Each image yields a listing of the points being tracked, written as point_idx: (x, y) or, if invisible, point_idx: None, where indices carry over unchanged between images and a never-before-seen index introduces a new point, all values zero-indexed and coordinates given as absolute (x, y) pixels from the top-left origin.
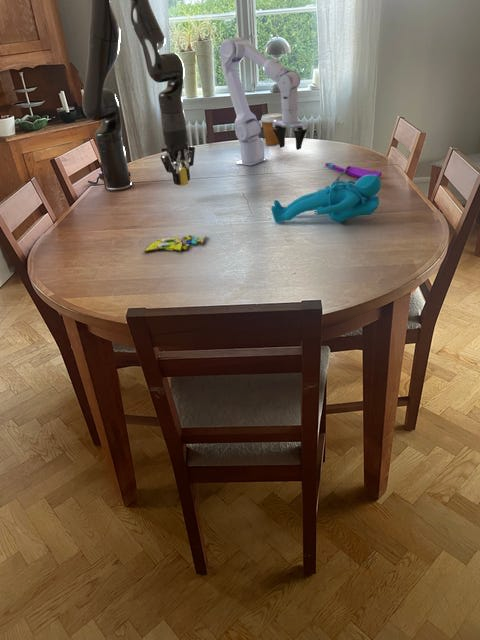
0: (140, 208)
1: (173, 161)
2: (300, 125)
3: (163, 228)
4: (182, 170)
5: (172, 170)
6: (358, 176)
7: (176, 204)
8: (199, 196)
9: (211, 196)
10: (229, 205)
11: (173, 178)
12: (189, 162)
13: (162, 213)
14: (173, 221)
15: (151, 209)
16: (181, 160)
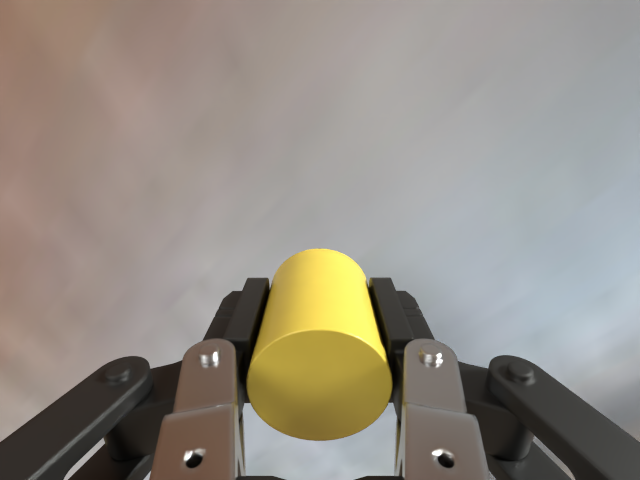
0: (46, 55)
1: (229, 469)
2: None
3: (4, 393)
4: (293, 434)
5: (123, 462)
6: None
7: (246, 235)
8: (418, 264)
9: (441, 322)
10: (362, 452)
11: (215, 323)
12: (496, 449)
13: (103, 264)
14: (82, 378)
15: (92, 152)
16: (399, 473)
